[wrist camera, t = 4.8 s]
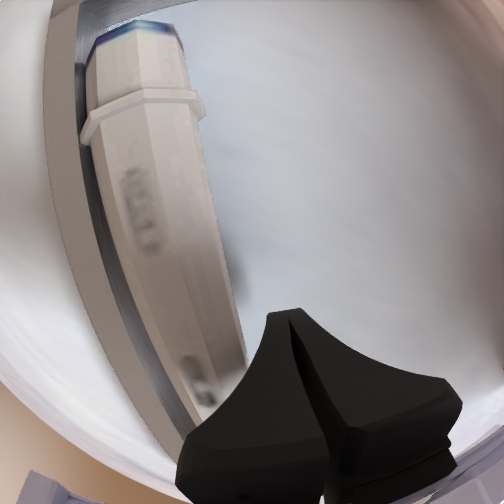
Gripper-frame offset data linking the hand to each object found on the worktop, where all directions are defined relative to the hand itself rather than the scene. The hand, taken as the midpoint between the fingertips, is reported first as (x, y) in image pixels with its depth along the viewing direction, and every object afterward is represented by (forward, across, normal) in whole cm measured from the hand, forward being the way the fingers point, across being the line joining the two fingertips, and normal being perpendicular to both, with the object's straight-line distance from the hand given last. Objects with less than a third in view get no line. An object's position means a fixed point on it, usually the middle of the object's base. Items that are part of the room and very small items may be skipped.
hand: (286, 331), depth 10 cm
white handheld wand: (+3, +3, 0) cm, 5 cm away
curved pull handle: (+3, +5, 0) cm, 5 cm away
